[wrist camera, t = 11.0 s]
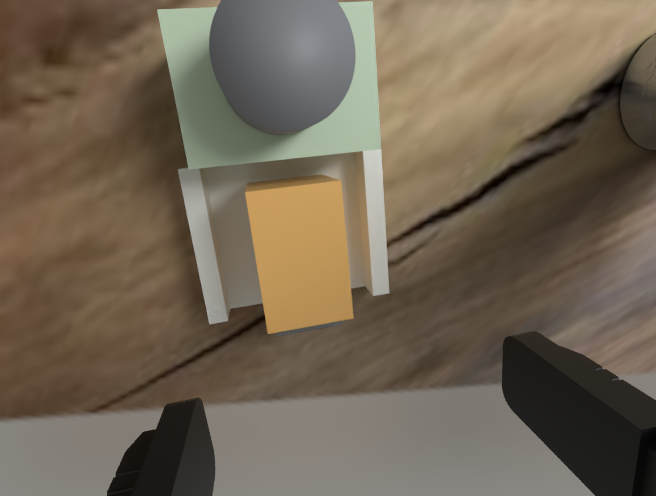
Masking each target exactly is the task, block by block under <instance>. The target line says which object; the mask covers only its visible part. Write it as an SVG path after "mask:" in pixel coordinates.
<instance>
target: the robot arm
mask: <svg viewBox="0 0 656 496" xmlns="http://www.w3.org/2000/svg"><path fill="white" fill-rule="evenodd" d="M620 110H621V116H622V121H623V124H624V126H625V129H626V131H627V133H628V134H629V136H630V137H631V139H632V140H633V141H635V142H636V143H637V144H638V145H639V146H641V147H644V148H646V149H649V150H656V34H654V35H653V36H652V37H651V38H649V39H648V40H647V41H646V42H645V43H644V44H643V45H642V46H641V48H640V49H639V50H638V52H637V53H636V54H635V56H634V58H633V59H632V61H631V63H630V65H629V67H628V69H627V72H626V75H625V77H624V80H623V85H622V90H621V96H620ZM502 389H503V394H504V397H505V399H506V401H507V403H508V405H509V407H510V408H511V409H512V411H513V412H514V413H515V414H516V415H517V416H518V417H519V418H520V419H521V420H522V421H523V422H524V423H525V424H526V425H527V426H528V427H529V428H530V429H531V430H532V431H533V432H534V433H535V434H536V435H537V436H538V437H539V438H540V439H541V440H542V441H543V442H544V444H546V445H547V447H548V448H549V449H550V450H551V451H552V452H553V453H554V454H555V455H556V456H557V457H558V458H559V459H560V460H561V461H562V462H563V463H564V464H565V465H566V466H567V467H568V468H569V469H570V470H571V471H572V472H573V473H574V474H575V475H576V476H577V477H578V478H579V479H580V480H581V481H582V482H583V483H584V485H585V486H586V487H587V488H588V489H589V490H590V491H591V492H592V493H593V494H594V495H595V496H656V400H654V399H653V398H651V397H649V396H648V395H646V394H645V393H643V392H642V391H640V390H638V389H637V388H635V387H633V386H632V385H630V384H629V383H627V382H626V381H624V380H619V378H618V376H616V375H614V374H613V373H611V372H610V371H608V370H607V369H604V370H603V368H602V366H600V365H599V364H597V363H595V362H594V361H592V360H591V359H589V358H587V357H586V356H584V355H582V354H580V353H577V352H575V351H572V350H569V349H567V348H564V347H561V346H558V345H557V344H555V343H554V342H552V341H551V340H549V339H548V338H546V337H544V336H543V335H541V334H540V333H538V332H534V331H533V332H528V333H523V334H518V335H513V336H508V337H506V338H505V340H504V342H503V365H502ZM214 480H215V457H214V450H213V445H212V441H211V436H210V432H209V428H208V424H207V419H206V415H205V411H204V406H203V403H202V400H201V399H200V398H194V399H189V400H184V401H179V402H174V403H169V404H167V405H166V406H165V407H164V410H163V413H162V415H161V418H160V421H159V423H158V426H157V428H156V429H155V430H150V431H145V432H143V433H142V434H141V435H140V436H139V437H138V438H137V439H136V440H135V442H134V443H133V444H132V445H131V446H130V447H129V448H128V449H127V451H126V452H125V454H124V456H123V458H122V461H121V463H120V465H119V467H118V469H117V471H116V477H115V478H113V480H112V483H111V485H110V487H109V489H108V491H107V496H212V494H213V486H214Z"/></svg>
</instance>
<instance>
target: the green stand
mask: <svg viewBox="0 0 656 496" xmlns="http://www.w3.org/2000/svg"><path fill="white" fill-rule="evenodd" d="M157 11H158V16H159V21H160V26H161V31H162V36H163V41H164V47H165V52H166V57H167V62H168V67H169V72H170V77H171V82H172V87H173V92H174V97H175V102H176V107H177V112H178V118H179V123H180V128H181V133H182V138H183V143H184V148H185V153H186V158H187V163H188V167H186V168H181V169H178V174H179V179H180V183H181V188H182V193H183V198H184V203H185V208H186V213H187V218H188V222H189V227H190V232H191V237H192V242H193V247H194V252H195V256H196V261H197V266H198V271H199V276H200V281H201V286H202V291H203V295H204V300H205V305H206V310H207V315H208V320H209V324H214V323H220V322H226V321H228V319H229V312H230V309H232V308H238V307H244V306H250V305H256V304H262V303H263V301H262V295H261V288H260V282H259V276H258V270H257V264H256V258H255V251H254V245H253V239H252V233H251V227H250V220H249V214H248V208H247V202H246V196H245V190H246V186H247V183H250V182H259V181H267V180H276V179H284V178H293V177H301V176H310V175H318V174H323V175H326V176H329V177H332V178H335V179H338V180H341V184H342V195H343V206H344V217H345V228H346V239H347V250H348V261H349V272H350V284H351V289H352V288H358V287H363V286H365V287H366V288H367V289H368V291H369V292H370V293H371V294H372V295H373V296H377V295H382V294H388V293H389V279H388V262H387V244H386V227H385V209H384V192H383V174H382V156H381V138H380V121H379V103H378V86H377V68H376V51H375V33H374V16H373V1H366V2H340V3H338V2H337V1H336V0H221V2H220V4H219V5H218V7H212V8H186V9H160V10H157Z"/></svg>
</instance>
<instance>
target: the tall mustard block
mask: <svg viewBox="0 0 656 496" xmlns="http://www.w3.org/2000/svg"><path fill="white" fill-rule="evenodd" d="M245 196H246V202H247V208H248V214H249V220H250V227H251V233H252V239H253V245H254V251H255V258H256V264H257V270H258V276H259V282H260V288H261V295H262V301H263V307H264V313H265V319H266V326H267V332H268V334H271V333H277V336H278V337H279V336H284V335H289V334H295V333H300V332H306V331H311V330H316V329H322V328H327V327H333V326H338V325H343V323H342V320H348V319H353V318H354V317H353V306H352V295H351V284H350V272H349V261H348V250H347V239H346V228H345V217H344V206H343V195H342V184H341V180H338V179H335V178H332V177H329V176H326V175H323V174H318V175H310V176H301V177H293V178H284V179H276V180H267V181H259V182H250V183H247V186H246V190H245Z"/></svg>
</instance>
